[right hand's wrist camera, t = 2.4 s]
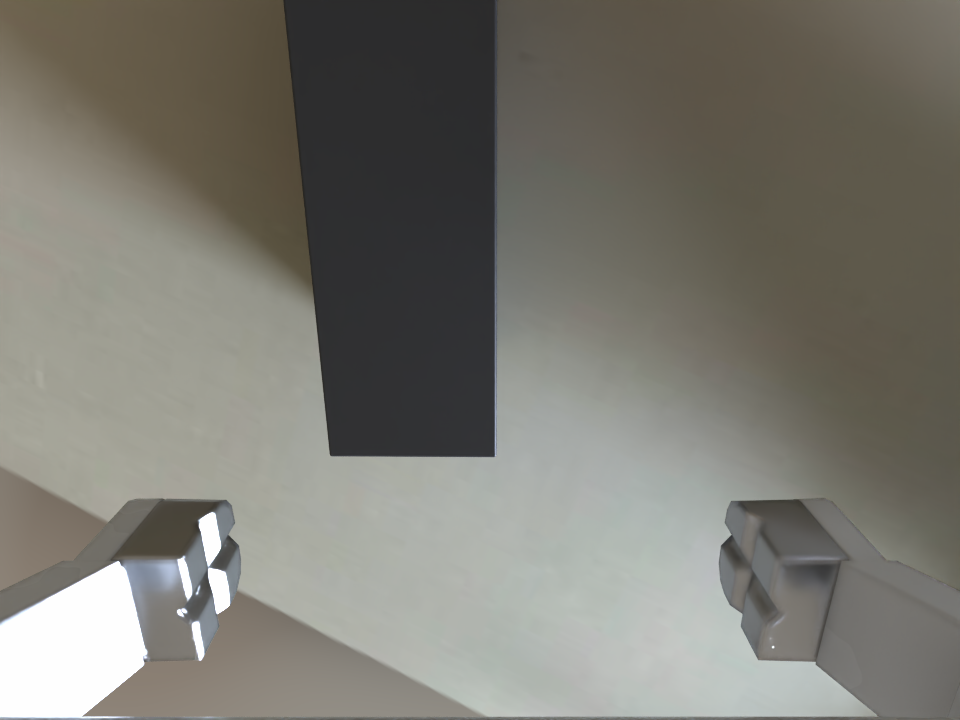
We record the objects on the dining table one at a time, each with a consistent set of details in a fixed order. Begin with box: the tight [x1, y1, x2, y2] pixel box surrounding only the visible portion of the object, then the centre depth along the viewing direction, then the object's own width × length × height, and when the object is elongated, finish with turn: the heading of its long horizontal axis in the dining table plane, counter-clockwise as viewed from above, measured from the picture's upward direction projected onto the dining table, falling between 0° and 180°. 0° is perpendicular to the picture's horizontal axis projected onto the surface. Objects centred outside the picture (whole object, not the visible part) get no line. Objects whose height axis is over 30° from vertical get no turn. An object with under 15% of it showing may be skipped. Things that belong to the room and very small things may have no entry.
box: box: [283, 0, 497, 457], centre depth 25 cm, size 20×6×12 cm, turn 0°
